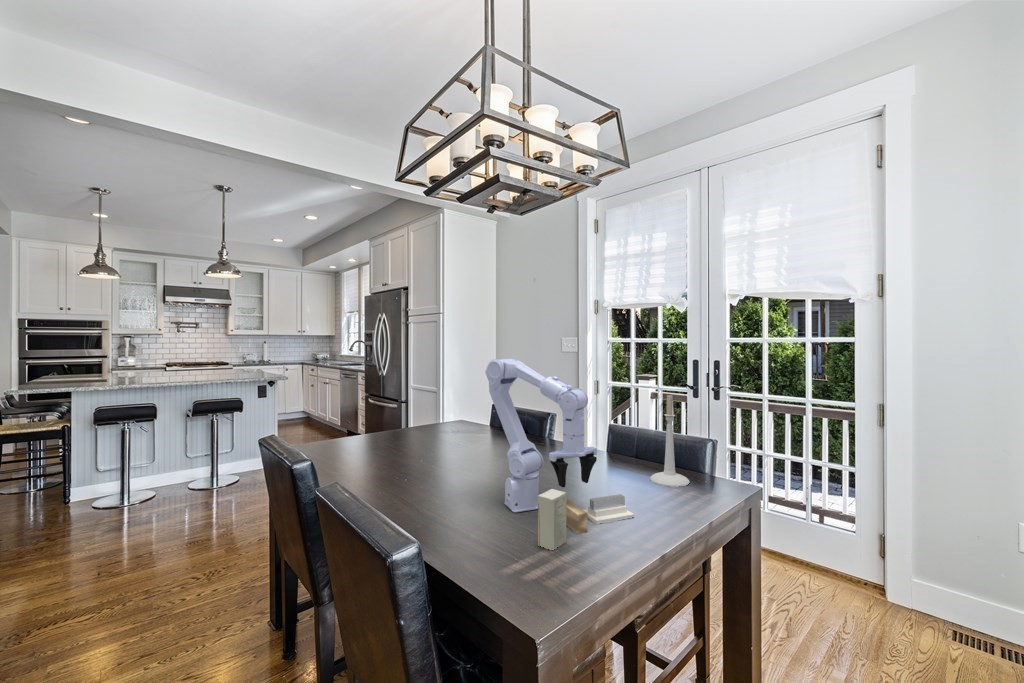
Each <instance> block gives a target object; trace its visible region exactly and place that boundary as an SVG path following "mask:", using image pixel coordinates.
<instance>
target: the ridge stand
mask: <svg viewBox="0 0 1024 683" xmlns="http://www.w3.org/2000/svg"><path fill="white" fill-rule="evenodd" d="M625 497H626V496H624V495H623V494H621V493H620V494H611V495H607V496H601V497H600V496H599V497H593V498H589V506H587V508H586V509H583V510H584V511H585V512H586V513H587V519H588V518H589V519H590V520H589V519H588V520H589V521H591V520H592V521H593V523H594V524H595V525H600V523H602V524H606V523H607V522H608V523H614V522H619V521H623V520H622V519H625V520H628V519H627V518H631V519H633V518H632V517H634V518H635V513H633V512H631V511H629V510H628V506H627V505H625V504H626V498H625ZM618 520H619V521H618ZM592 521H591V522H592ZM613 521H614V522H613ZM608 523H607V524H608Z"/></svg>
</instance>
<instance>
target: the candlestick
mask: <svg viewBox="0 0 1024 683" xmlns="http://www.w3.org/2000/svg"><path fill="white" fill-rule="evenodd" d="M673 399H674V398H673V395H672V394H668V395H666V413H665V414H663V416H665V420H666V423H667V424H666V431H665V434H666V435H665V453H664V467H663V468H664V469H663V471H661V472H655V473H653V474H652V475H651V476H650V477H649V481H650V480H651V481H652V483H653V482H654V483H653V484H655V483H656V484H655V485H657V484H660V485H659V486H661V485H664V486H663V487H666V486H670V487H669V488H680V487H679V486H685V487H687V486H686V485H688V484H689V483H690V479H689V478H687V477H686V476H685V475H682V474H680V473H677V472H676V462H675V445H674V428H673V426H674V425H673V421H675V419H674V417H676V415H675V414H673V413H674V411H673V410H674V409H673V408H674V405H673V404H674V403H673V401H674V400H673ZM651 481H650V482H651ZM689 485H690V484H689ZM689 485H688V486H689Z"/></svg>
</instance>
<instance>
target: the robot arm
mask: <svg viewBox="0 0 1024 683" xmlns="http://www.w3.org/2000/svg"><path fill="white" fill-rule="evenodd" d="M485 376H486V378H487V381H488V389H489V390H488V392H489V394H490V397H491V401H492V403H493V404H494V407H495V410H496V412H497V415H498V418H499V420H500V423H501V426H502V429H503V432H504V434H505V436H506V439H507V441H508V444H509V449H508V451H507V454H506V457H507V460H508V469H509V472H510V473H511V474H512V476H510V477H507V478H506V479H505V483H504V503H503V504H504V505H505V506H506V507H507V508H508V509H509V510H511V512H513V513H520V512H527V511H534V510H535V511H536V510H538V495H540V494H539V491H540V490H539V489H540V488H539V486H540V485H539V484H540V483H539V474H540V470H541V469H542V467H543V466H544V458H543V455H542V453H541V452H540V451H539V450H538V449H537V447H536V445H535V443H533V442H532V441H530V440H529V439H528V438H527V434H526V433H525V430H524V428H523V425H522V423H521V420H520V417H519V415H518V413H517V409H516V407H515V405H514V402H513V399H512V398H511V394H510V390H511V389H510V388H511V387H512V386H513V384H514V382H516V380H517V379H518V378H519V379H521V380H523V381H525V382H526V383H529V384H531V385H532V386H535V387H537V388H539V391H540V394H541V395H542V396H544V397H546V398H548V399H550V400H551V401H553V402H555V403H556V404H558V405H559V408H560V410H561V412H562V449H559V450H555V451H552V452H549V453H548V459H549V461H550V464H551V465H552V467H553V469H554V472H555V475H556V477H557V478H556V480H557V483H558V486H559V487H561V488H565V487H566V484H567V482H566V481H567V480H566V479H567V470H568V466H569V463H568V462H566V460H568V459H574V458H579V463H580V477H581V482H583V483H584V484H588V483H589V480H590V476H591V473H592V470H593V468H594V466H595V464H596V462H597V461H598V460H597V455H598V447H595V446H585V409H586V407H587V405H588V403H589V397H588V394H587V393H586V392H585V391H584V390H582V388H573V386H572V385H571V384H566V383H564V382H562V381H560V379H559V377H558V376H557V375H556V376H548V377H545V376H543V375H542V374H540V373H539V372H538V371H535V370H534V369H532V368H531V367H530V366H528V365H526V364H524V362H523V361H520V360H518V359H517V358H514V357H511V358H504V359H503V358H500V359H497V358H495V359H490V361H489V362H488V363H487V366H486V369H485Z"/></svg>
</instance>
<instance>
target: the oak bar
mask: <svg viewBox="0 0 1024 683" xmlns="http://www.w3.org/2000/svg"><path fill="white" fill-rule="evenodd" d="M567 525H568V528H570V529H571V530H572V529H573V530H572V531H574V532H575V533H576V532H577V533H579V534H583V532H584V533H588V518H587V513H586V512H585V511H584V509H582V508H581V507H579V506H578V505H576V504H575V503H573V501H570V500H569V499H567V498H566V526H567ZM577 533H576V534H577Z"/></svg>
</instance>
